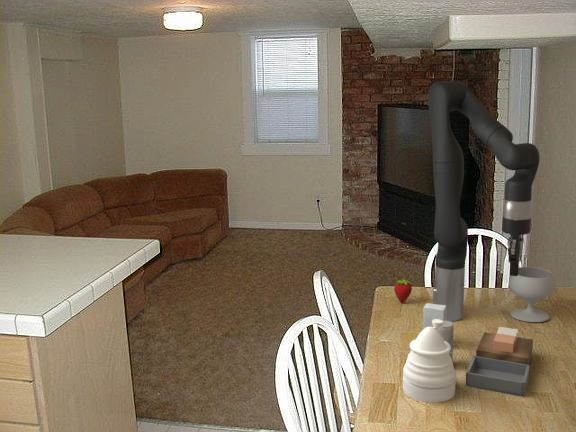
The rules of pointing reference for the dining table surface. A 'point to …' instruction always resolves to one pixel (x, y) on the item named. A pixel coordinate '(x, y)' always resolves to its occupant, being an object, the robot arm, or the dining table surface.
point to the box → (498, 375)
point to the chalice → (532, 292)
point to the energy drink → (447, 334)
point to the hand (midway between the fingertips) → (513, 275)
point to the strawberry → (402, 290)
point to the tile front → (504, 343)
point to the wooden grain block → (519, 354)
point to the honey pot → (429, 367)
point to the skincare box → (433, 313)
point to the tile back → (508, 332)
